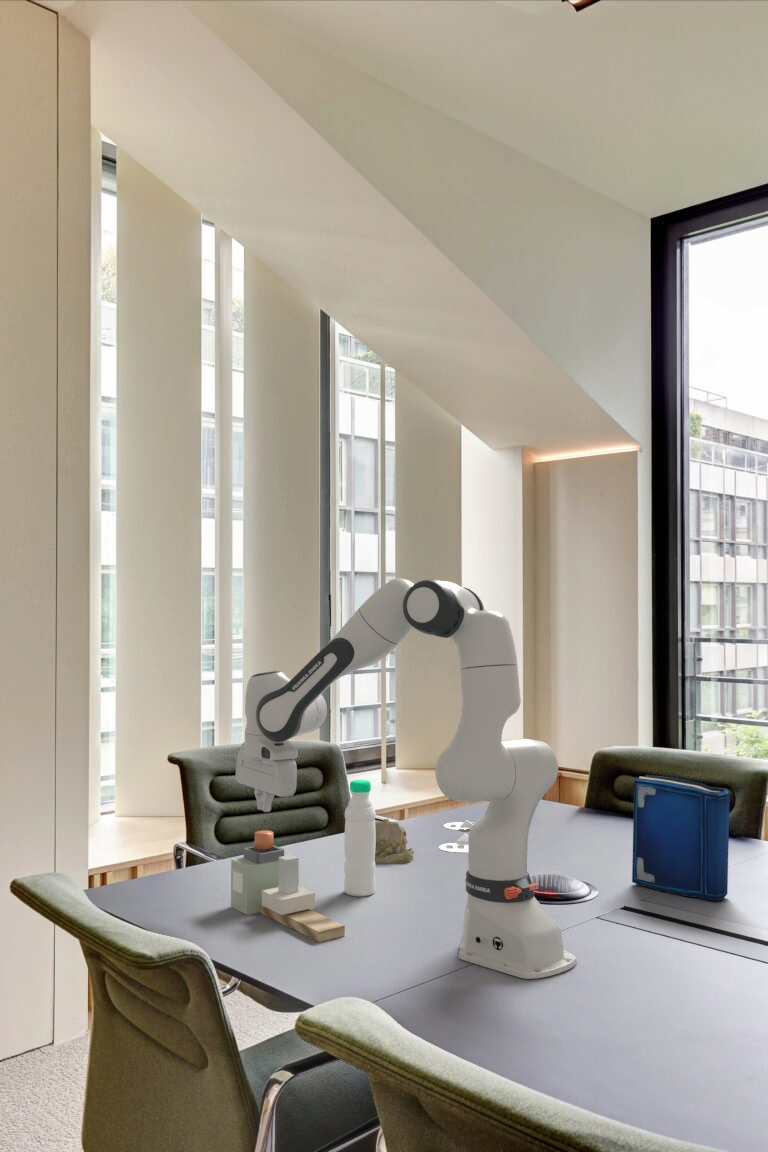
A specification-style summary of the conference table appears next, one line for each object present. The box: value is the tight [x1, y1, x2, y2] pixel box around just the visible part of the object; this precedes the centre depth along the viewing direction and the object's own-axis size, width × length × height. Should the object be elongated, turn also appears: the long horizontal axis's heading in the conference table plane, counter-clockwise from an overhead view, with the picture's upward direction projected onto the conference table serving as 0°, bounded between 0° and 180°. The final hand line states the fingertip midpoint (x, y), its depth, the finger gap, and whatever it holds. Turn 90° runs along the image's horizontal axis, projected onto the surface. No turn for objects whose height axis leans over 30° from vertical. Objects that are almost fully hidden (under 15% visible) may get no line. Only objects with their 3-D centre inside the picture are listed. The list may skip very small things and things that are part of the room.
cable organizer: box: [438, 819, 473, 854], centre depth 265 cm, size 35×24×3 cm
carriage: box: [262, 854, 316, 915], centre depth 196 cm, size 8×8×10 cm
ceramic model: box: [375, 818, 415, 864], centre depth 243 cm, size 14×11×10 cm
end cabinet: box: [230, 844, 290, 916], centre depth 203 cm, size 7×12×12 cm, turn 128°
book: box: [631, 774, 731, 902], centre depth 215 cm, size 22×7×25 cm, turn 47°
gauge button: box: [254, 830, 274, 849], centre depth 204 cm, size 4×4×3 cm
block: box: [260, 903, 346, 943], centre depth 191 cm, size 22×6×2 cm, turn 38°
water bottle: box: [343, 779, 377, 898], centre depth 213 cm, size 7×7×25 cm
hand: (264, 810), depth 204 cm, fingers closed
